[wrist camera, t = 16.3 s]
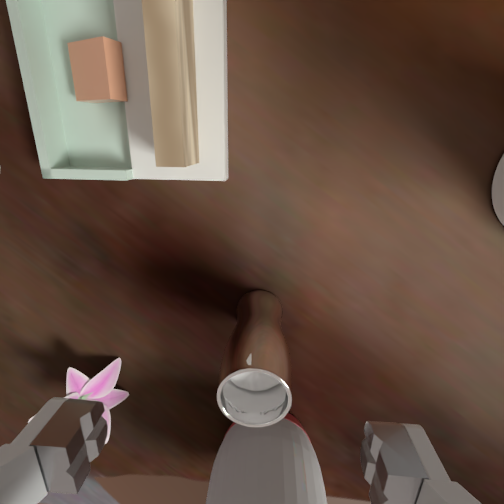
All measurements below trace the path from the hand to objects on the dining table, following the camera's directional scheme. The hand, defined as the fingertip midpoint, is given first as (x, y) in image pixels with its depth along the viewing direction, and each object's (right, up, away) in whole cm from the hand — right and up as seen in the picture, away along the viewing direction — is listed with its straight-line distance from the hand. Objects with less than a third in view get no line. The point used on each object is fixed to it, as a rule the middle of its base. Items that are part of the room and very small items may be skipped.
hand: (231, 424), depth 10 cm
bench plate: (-7, +23, +22) cm, 33 cm away
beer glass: (+2, -2, +31) cm, 31 cm away
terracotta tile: (-14, +23, +21) cm, 34 cm away
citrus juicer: (+3, -24, +39) cm, 46 cm away
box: (-16, +24, +23) cm, 37 cm away
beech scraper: (-6, +22, +20) cm, 31 cm away
